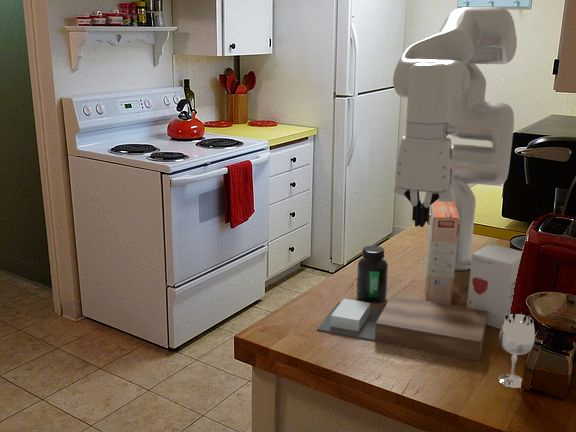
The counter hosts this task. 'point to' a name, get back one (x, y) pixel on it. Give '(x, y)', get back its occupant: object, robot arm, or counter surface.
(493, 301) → the supplement box
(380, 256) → the supplement bottle
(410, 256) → the counter surface
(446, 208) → the cracker box
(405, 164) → the robot arm
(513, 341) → the wineglass
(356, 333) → the mat
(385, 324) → the brown wooden block
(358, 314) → the tile
